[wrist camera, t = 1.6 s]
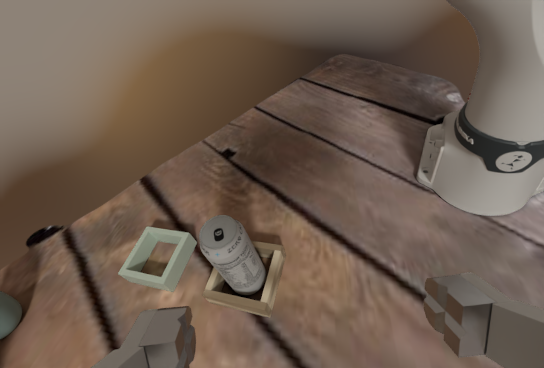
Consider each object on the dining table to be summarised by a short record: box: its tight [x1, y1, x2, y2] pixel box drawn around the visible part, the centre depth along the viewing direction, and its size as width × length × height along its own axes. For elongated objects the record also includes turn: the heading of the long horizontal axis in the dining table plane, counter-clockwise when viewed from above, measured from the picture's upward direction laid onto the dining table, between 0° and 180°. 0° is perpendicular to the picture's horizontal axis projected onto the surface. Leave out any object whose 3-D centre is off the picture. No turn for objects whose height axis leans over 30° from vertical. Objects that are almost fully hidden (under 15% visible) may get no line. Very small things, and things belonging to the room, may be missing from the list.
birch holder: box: [202, 241, 286, 317], centre depth 44 cm, size 10×10×4 cm
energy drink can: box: [199, 215, 266, 295], centre depth 40 cm, size 6×6×15 cm
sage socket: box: [118, 227, 197, 292], centre depth 50 cm, size 9×9×4 cm
